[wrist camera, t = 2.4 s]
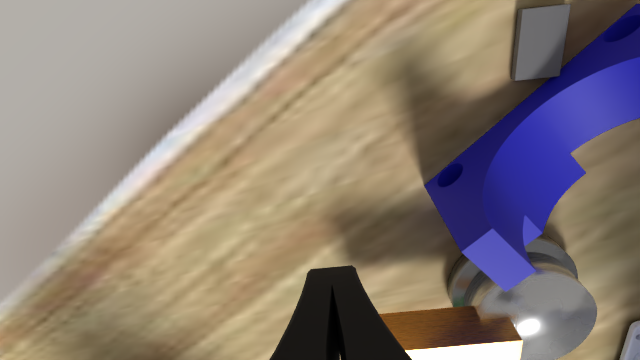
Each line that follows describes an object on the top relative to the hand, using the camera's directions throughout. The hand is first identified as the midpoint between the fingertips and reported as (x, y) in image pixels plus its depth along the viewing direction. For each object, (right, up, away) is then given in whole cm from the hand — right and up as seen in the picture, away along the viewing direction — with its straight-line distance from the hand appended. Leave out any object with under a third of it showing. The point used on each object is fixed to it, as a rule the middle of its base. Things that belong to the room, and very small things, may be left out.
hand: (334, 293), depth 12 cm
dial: (+8, -3, +11) cm, 14 cm away
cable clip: (+11, +6, +8) cm, 15 cm away
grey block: (+9, +10, +6) cm, 15 cm away
